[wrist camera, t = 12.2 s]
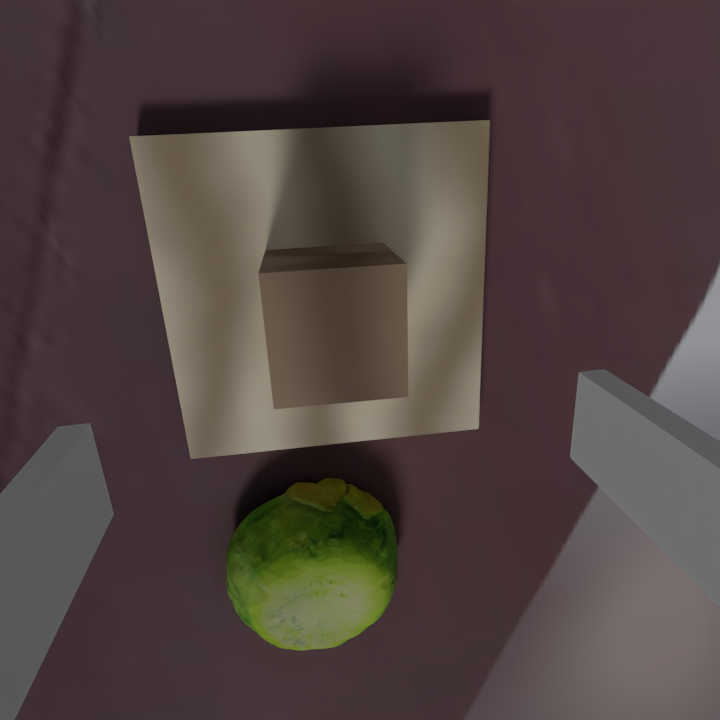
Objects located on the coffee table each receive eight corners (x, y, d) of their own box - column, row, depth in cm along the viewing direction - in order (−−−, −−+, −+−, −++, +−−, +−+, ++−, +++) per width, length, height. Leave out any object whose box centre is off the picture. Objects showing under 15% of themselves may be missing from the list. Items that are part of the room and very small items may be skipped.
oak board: (194, 448, 31) (190, 459, 30) (136, 137, 25) (129, 136, 24) (472, 419, 33) (478, 428, 31) (481, 121, 26) (490, 119, 25)
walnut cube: (277, 361, 28) (273, 409, 23) (265, 250, 26) (258, 273, 21) (385, 352, 29) (408, 396, 23) (383, 242, 27) (407, 263, 21)
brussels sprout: (228, 477, 32) (217, 530, 28) (400, 475, 34) (418, 525, 29) (232, 618, 36) (223, 685, 32) (386, 610, 38) (399, 673, 33)
